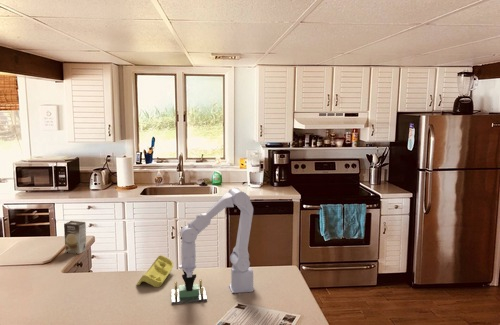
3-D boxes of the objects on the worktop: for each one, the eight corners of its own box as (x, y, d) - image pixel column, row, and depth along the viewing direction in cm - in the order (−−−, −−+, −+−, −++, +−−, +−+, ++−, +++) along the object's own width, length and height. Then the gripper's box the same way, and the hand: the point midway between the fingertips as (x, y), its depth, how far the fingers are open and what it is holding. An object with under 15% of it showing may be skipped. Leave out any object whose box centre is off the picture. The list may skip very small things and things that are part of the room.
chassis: (204, 288, 162) (204, 277, 162) (206, 301, 152) (206, 289, 151) (171, 291, 159) (171, 280, 159) (171, 304, 149) (171, 292, 148)
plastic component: (161, 283, 162) (141, 273, 162) (155, 297, 163) (134, 286, 164) (176, 262, 181) (157, 253, 181) (170, 274, 183) (152, 265, 183)
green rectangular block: (198, 290, 159) (198, 283, 158) (199, 295, 154) (198, 289, 153) (179, 291, 157) (178, 285, 157) (179, 297, 152) (179, 290, 152)
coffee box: (64, 252, 201) (63, 223, 199) (72, 248, 208) (70, 220, 206) (79, 254, 200) (78, 225, 198) (87, 249, 206) (85, 221, 204)
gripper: (178, 249, 159) (178, 279, 161) (178, 262, 145) (179, 295, 147) (194, 248, 161) (195, 278, 163) (197, 261, 147) (197, 294, 149)
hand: (188, 286), depth 155 cm, fingers open, 7 cm apart
